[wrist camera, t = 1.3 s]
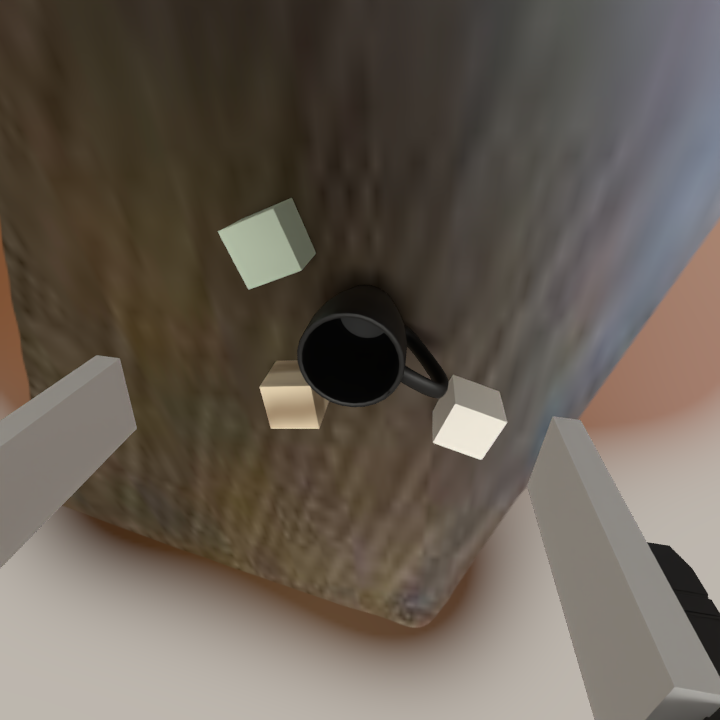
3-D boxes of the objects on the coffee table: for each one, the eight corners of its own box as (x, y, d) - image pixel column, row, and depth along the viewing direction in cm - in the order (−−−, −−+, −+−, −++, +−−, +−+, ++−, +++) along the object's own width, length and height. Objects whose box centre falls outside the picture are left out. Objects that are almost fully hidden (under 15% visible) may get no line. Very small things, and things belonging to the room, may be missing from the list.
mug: (421, 378, 42) (420, 440, 34) (312, 330, 41) (283, 382, 33) (463, 310, 38) (472, 363, 30) (342, 255, 37) (317, 293, 29)
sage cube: (242, 218, 37) (217, 231, 32) (292, 197, 35) (272, 208, 31) (268, 270, 39) (248, 289, 34) (316, 253, 37) (301, 270, 33)
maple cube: (276, 360, 43) (259, 386, 39) (322, 359, 43) (310, 385, 38) (285, 399, 46) (271, 428, 42) (329, 399, 45) (319, 428, 41)
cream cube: (452, 374, 41) (455, 403, 37) (499, 391, 41) (507, 422, 37) (432, 411, 44) (432, 442, 40) (476, 426, 44) (481, 460, 40)
